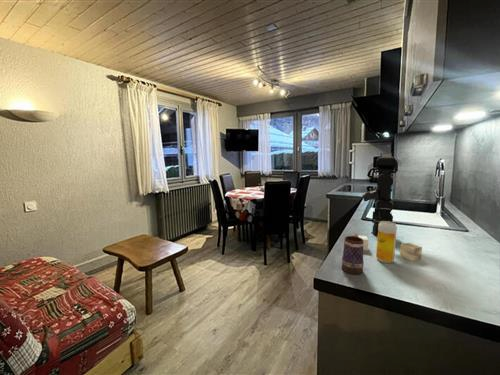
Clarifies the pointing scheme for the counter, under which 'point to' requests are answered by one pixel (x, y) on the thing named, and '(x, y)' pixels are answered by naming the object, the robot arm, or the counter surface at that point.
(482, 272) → the counter surface
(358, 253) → the mug
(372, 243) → the counter surface
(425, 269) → the counter surface
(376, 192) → the robot arm
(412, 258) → the birch block
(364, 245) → the cream plastic block
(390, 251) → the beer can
